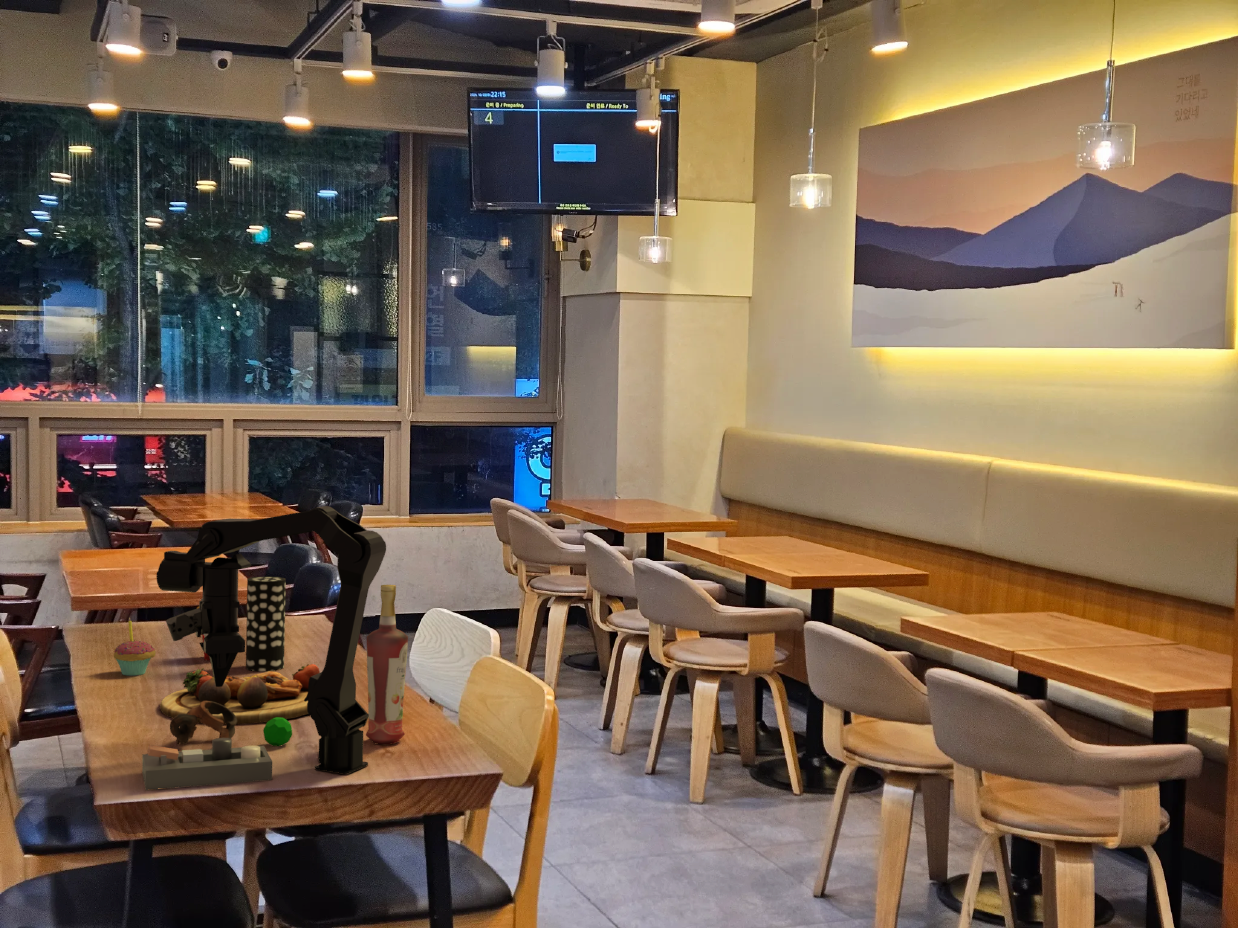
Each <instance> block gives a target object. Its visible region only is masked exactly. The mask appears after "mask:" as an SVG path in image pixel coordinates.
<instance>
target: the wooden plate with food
mask: <svg viewBox="0 0 1238 928" xmlns="http://www.w3.org/2000/svg"><path fill="white" fill-rule="evenodd" d="M204 669H205V667H202V668H201V669H196V670H195V671H191V672H190V671H189V672H186V674H185V679H183V682H182V685H184V686H183V688H184V689H180V690H177V691H174V692H172V693H169V694H168V695H166V696H165V697H164V698H163V699H162V700H161V702H160V704H159V706H160V707H159V708H160V711H161V713H162V714H164V716H166V717H169V718H170V719H173V718H174V717H175V716H177V715H178V714H187V712H188V711H189V710H191V709H192V708H195V707H198V706H199V705H200V703H201V702H203V701H212V702H216V703H219V704H221V705H223V706H225V707H226V708H228V709H229V710H230V711H232V712H233V713H234V715H235V716H236V717H237V723H236V725H245V724H260V723H267V722H268V721H270V720H271V719H273V718H276V717H281V718H284V719H286V720H289V719H294V718H299V717H302V716H305V715H309V714H308V712H307V703H308V701H306V702H305V701H304V699H305V698H306V696H307V693H308V683H309V678H310V677H312V676H314V675H316V674H318V673H321V672H320V671H321V670H320V668H319V667H318V666H317V665H316V664H313V663H312V664H307V665H304V666H301V668H298V669H297V671H295V672H294V673H292V674H291V677H292V679H289V678H288V677H286V676H284V675H283V674H281V673H280V672H277V671H264V672H261V673H255V674H253V675H251V676H243V677H238V676H234V675H227V677H226V680H225V682H224V684H223V686H222V687H216V686H215V681H214V676H213V675H210V673H209V672H207V671H206V670H205V671H204ZM206 710H207V711H208V708H206ZM208 712H209V711H208ZM212 715H213V716H215V717H216V718H218V719H220V720H223V722H224V717H223V715H222V714H212ZM200 720H201V719H199V718H197V723H196V724H202V723H201V722H200ZM223 725H227V723H224V724H223Z"/></svg>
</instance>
